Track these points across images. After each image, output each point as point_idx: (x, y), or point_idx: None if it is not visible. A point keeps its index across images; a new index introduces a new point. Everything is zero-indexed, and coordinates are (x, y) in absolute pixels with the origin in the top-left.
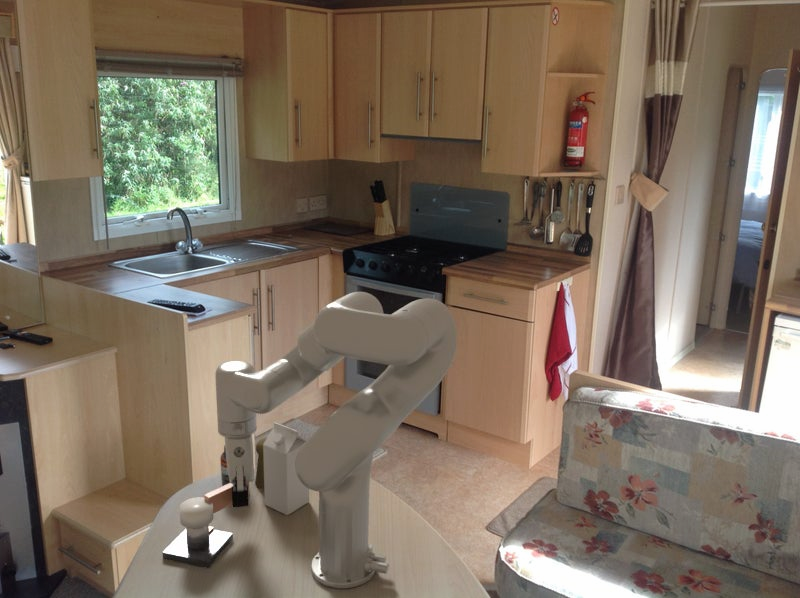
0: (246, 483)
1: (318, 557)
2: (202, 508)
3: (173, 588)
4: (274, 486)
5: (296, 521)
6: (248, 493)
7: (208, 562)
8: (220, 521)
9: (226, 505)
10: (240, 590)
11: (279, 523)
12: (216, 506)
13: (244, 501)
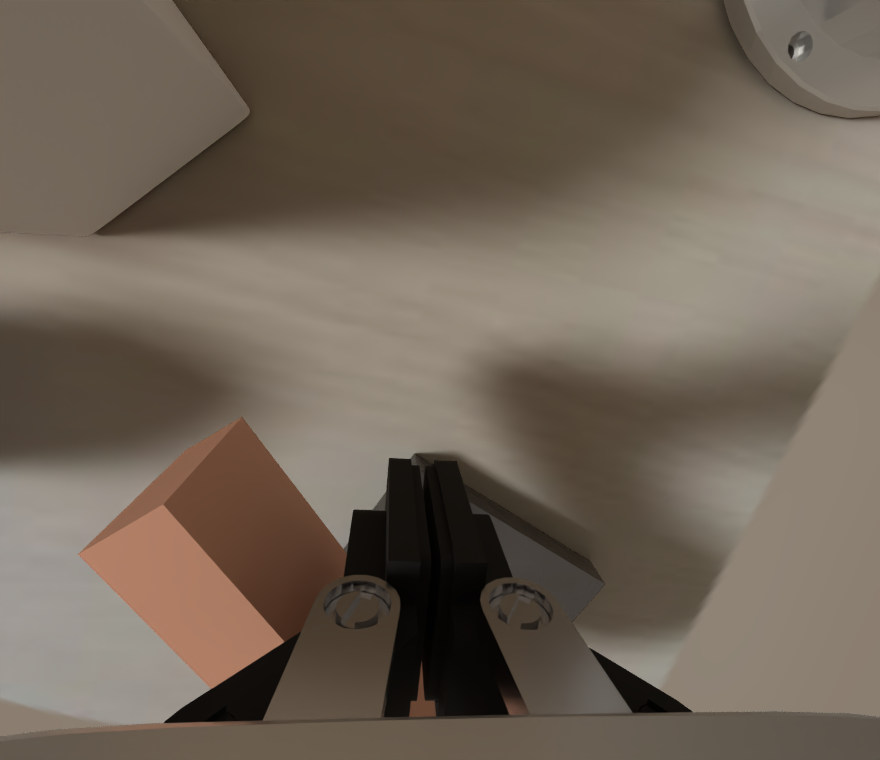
0: (607, 684)
1: (790, 37)
2: None
3: (654, 669)
4: (38, 143)
5: (330, 68)
6: (237, 433)
7: (599, 577)
8: None
9: None
10: (777, 455)
11: (326, 186)
12: (421, 687)
13: (492, 523)
